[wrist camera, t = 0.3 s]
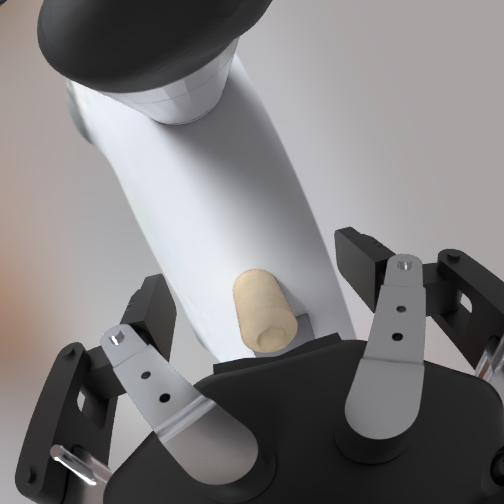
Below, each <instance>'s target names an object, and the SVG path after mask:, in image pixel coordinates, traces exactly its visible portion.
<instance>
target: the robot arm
mask: <svg viewBox="0 0 504 504" xmlns="http://www.w3.org/2000/svg"><path fill="white" fill-rule="evenodd" d="M6 1H7V0H0V6H1V5H2V4H3V3H4V2H6ZM271 2H272V0H44V2H43V5H42V7H41V10H40V13H39V18H38V26H37V36H38V43H39V47H40V49H41V51H42V54H43V55H44V57H45V59H46V60H47V62H48V63H49V64H50V65H51V66H52V67H53V68H54V69H55V70H56V71H57V72H59V73H60V74H62V75H63V76H65V77H67V78H69V79H70V80H72V81H75V82H77V83H79V84H82V85H84V86H86V87H88V88H90V89H93V90H95V91H97V92H99V93H101V94H103V95H105V96H108V97H110V98H112V99H114V100H116V101H118V102H121V103H123V104H125V105H127V106H129V107H131V108H133V109H135V110H137V111H138V112H140V113H142V114H144V115H146V116H148V117H150V118H152V119H154V120H156V121H158V122H161V123H164V124H169V125H183V124H187V123H191V122H194V121H196V120H198V119H200V118H202V117H204V116H205V115H206V114H208V113H209V112H210V111H211V110H212V109H213V108H214V107H215V106H216V104H217V103H218V101H219V100H220V98H221V95H222V92H223V90H224V86H225V83H226V80H227V76H228V73H229V70H230V66H231V63H232V60H233V57H234V54H235V50H236V47H237V44H238V40H239V37H240V36H241V35H242V34H243V33H245V32H246V31H248V30H249V29H250V28H251V27H252V26H254V25H255V24H256V22H257V21H258V20H259V19H260V18H261V17H262V16H263V14H264V13H265V11H266V10H267V8H268V6H269V5H270V3H271ZM334 236H335V247H336V259H337V266H338V269H339V271H340V273H341V274H342V276H343V277H344V278H345V279H346V281H347V282H348V283H349V284H350V285H351V287H353V289H354V290H355V291H356V292H357V294H358V295H359V296H360V297H361V299H362V300H363V301H364V302H365V303H366V305H367V306H368V307H369V308H370V310H371V311H372V312H373V313H375V316H374V320H373V324H372V327H371V331H370V335H369V339H368V341H363V340H341V338H340V336H339V334H338V333H334V334H331V335H328V336H324V337H321V338H318V339H315V340H311V341H308V342H306V343H304V344H302V345H300V346H298V347H296V348H294V349H292V350H290V351H288V352H286V353H284V354H282V355H279V356H275V357H258V358H242V359H238V360H233V361H228V362H223V363H219V364H214V365H213V371H214V374H212V375H210V376H208V377H206V378H204V379H202V380H200V381H199V382H197V383H196V384H195V385H193V386H192V385H191V384H190V383H189V382H188V381H187V380H186V379H185V378H183V377H182V376H181V375H180V374H179V373H178V372H177V371H176V370H175V369H174V368H173V367H172V366H171V365H170V364H169V359H170V352H171V345H172V339H173V333H174V327H175V320H176V315H177V313H176V306H175V303H174V300H173V298H172V295H171V293H170V291H169V288H168V286H167V283H166V281H165V278H164V276H163V275H162V274H157V275H153V276H149V277H146V278H145V280H144V282H143V285H142V287H141V289H139V290H137V291H136V292H135V294H134V295H133V296H132V297H131V299H130V301H129V305H128V306H127V308H126V311H125V313H124V315H123V317H122V320H121V322H120V324H119V325H117V326H115V327H112V328H111V329H109V330H108V331H107V332H106V333H105V334H104V335H103V336H102V338H101V341H100V344H101V346H98V347H96V348H93V349H91V350H88V351H86V349H85V348H84V346H83V345H82V344H81V343H79V342H75V343H71V344H69V345H67V346H66V347H64V348H63V349H62V350H61V351H60V353H59V354H58V355H57V358H56V360H55V362H54V364H53V366H52V368H51V371H50V373H49V375H48V377H47V380H46V382H45V384H44V387H43V389H42V392H41V394H40V397H39V399H38V402H37V405H36V407H35V410H34V412H33V415H32V418H31V421H30V424H29V427H28V430H27V433H26V436H25V439H24V443H23V446H22V450H21V453H20V457H19V461H18V465H17V469H16V474H15V483H16V487H17V489H18V491H19V492H20V493H21V494H22V495H24V496H25V497H27V498H29V499H31V500H32V501H34V502H36V503H37V504H504V282H503V281H502V280H500V279H499V278H498V277H497V276H495V275H494V274H493V273H491V272H490V271H489V270H487V269H486V268H485V267H483V266H482V265H481V264H479V263H478V262H477V261H475V260H474V259H472V258H471V257H470V256H468V255H467V254H465V253H464V252H462V251H460V250H456V249H445V250H442V251H440V252H439V254H438V260H437V263H430V264H422V262H421V260H420V259H419V258H417V257H415V256H413V255H409V254H398V255H396V254H395V253H394V252H392V251H391V250H389V249H388V248H387V247H386V246H383V244H381V243H380V242H378V241H377V240H376V239H375V238H373V237H371V236H368V235H365V234H360V233H359V232H357V231H356V230H355V229H354V228H352V227H347V228H343V229H339V230H336V231H335V234H334ZM462 293H463V294H465V295H466V296H467V297H468V298H469V300H470V301H471V304H472V312H471V313H470V312H469V311H468V310H467V309H466V308H465V307H464V306H463V305H462V304H461V303H460V301H461V297H462ZM426 316H431V317H432V318H433V319H434V321H435V322H436V323H437V324H438V325H439V327H440V328H441V329H442V330H443V331H444V332H445V334H446V335H447V336H448V337H449V338H450V340H451V341H452V342H453V343H454V344H455V346H456V347H457V348H458V349H459V351H460V352H461V353H462V354H463V356H464V357H465V358H466V360H467V361H468V362H469V364H470V365H471V366H472V367H473V369H474V370H475V376H473V375H470V374H466V373H463V372H460V371H457V370H453V369H450V368H447V367H444V366H441V365H438V364H434V363H431V362H428V361H425V360H423V358H424V343H425V321H426ZM79 391H81V393H82V394H83V395H84V396H85V401H84V404H83V408H82V412H81V411H80V410H79V407H78V404H77V398H78V395H79ZM125 393H128V395H129V396H130V398H131V399H132V401H133V402H134V404H135V405H136V407H137V408H138V410H139V411H140V412H141V414H142V415H143V417H144V418H145V419H146V421H147V422H148V424H149V425H150V426H151V428H152V429H153V431H152V432H151V433H150V434H149V435H148V437H147V438H146V439H145V440H144V441H143V442H142V443H141V444H140V445H139V446H138V448H137V449H136V450H135V451H134V452H133V453H132V454H131V455H130V456H129V457H128V459H127V460H126V461H125V462H124V463H123V464H122V465H121V466H120V467H119V468H118V469H117V470H116V471H115V472H114V474H113V475H112V472H111V470H110V469H109V467H108V459H109V450H110V444H111V436H112V429H113V423H114V417H115V410H116V405H117V400H118V396H119V395H122V394H125Z"/></svg>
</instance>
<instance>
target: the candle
mask: <svg viewBox="0 0 504 504" xmlns="http://www.w3.org/2000/svg"><path fill="white" fill-rule="evenodd" d="M233 297H234V302H235V307H236V312H237V318H238V323H239V328H240V332H241V337H242V340H243V342H244V344H245V345H246V346H247V347H248V348H250V349H251V350H253V351H256V352H261V353H269V352H275V351H278V350H280V349H282V348H285V347H286V346H287V345H288V344H289V343H290V342H291V341H292V340H293V338H294V337H295V335H296V332H297V328H298V324H297V320H296V318H295V316H294V314H293V312H292V310H291V308H290V306H289V304H288V302H287V300H286V298H285V296H284V294H283V292H282V290H281V289H280V287H279V285H278V283H277V281H276V279H275V278H274V277H273V275H271V274H270V273H269V272H267V271H265V270H261V269H253V270H249V271H246V272H244V273H243V274H241V275H240V276H239V277H238V278H237V280H236V281H235V283H234V287H233Z"/></svg>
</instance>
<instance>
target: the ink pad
mask: <svg viewBox="0 0 504 504" xmlns="http://www.w3.org/2000/svg"><path fill="white" fill-rule="evenodd" d="M296 320H297V324H298V328H297V332H296V335H295V337H294V338H293V340H292V341H291V342H290V343H289V344H288V345H287V346H286V347H285V348H282V349H280V350H278V351H275V352H269V353H261V352H256V351H253V352H254V354H255V356H256V358H258V357H275V356H279V355H282V354H284V353H286V352H288V351H290V350H292V349H294V348H296V347H298V346H300V345H302V344H304V343H306V342H308V341H311V340H314V336H313V332H312V328H311V324H310V321H309V317H308V315H307V314H305V315H302V316H300V317H297V318H296Z"/></svg>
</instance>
